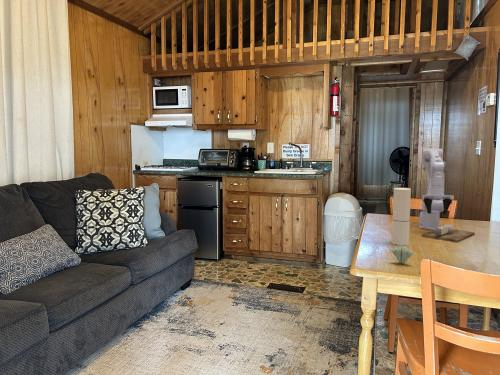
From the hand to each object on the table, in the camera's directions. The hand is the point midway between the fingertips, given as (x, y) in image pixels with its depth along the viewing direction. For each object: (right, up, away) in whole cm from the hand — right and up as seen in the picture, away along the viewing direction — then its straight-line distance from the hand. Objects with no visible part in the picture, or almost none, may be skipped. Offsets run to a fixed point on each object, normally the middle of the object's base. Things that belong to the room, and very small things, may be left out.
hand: (437, 214), depth 186 cm
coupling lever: (+3, -9, -1) cm, 10 cm away
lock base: (+6, -11, +1) cm, 13 cm away
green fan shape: (-34, -16, -42) cm, 56 cm away
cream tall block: (-23, -13, -12) cm, 29 cm away
